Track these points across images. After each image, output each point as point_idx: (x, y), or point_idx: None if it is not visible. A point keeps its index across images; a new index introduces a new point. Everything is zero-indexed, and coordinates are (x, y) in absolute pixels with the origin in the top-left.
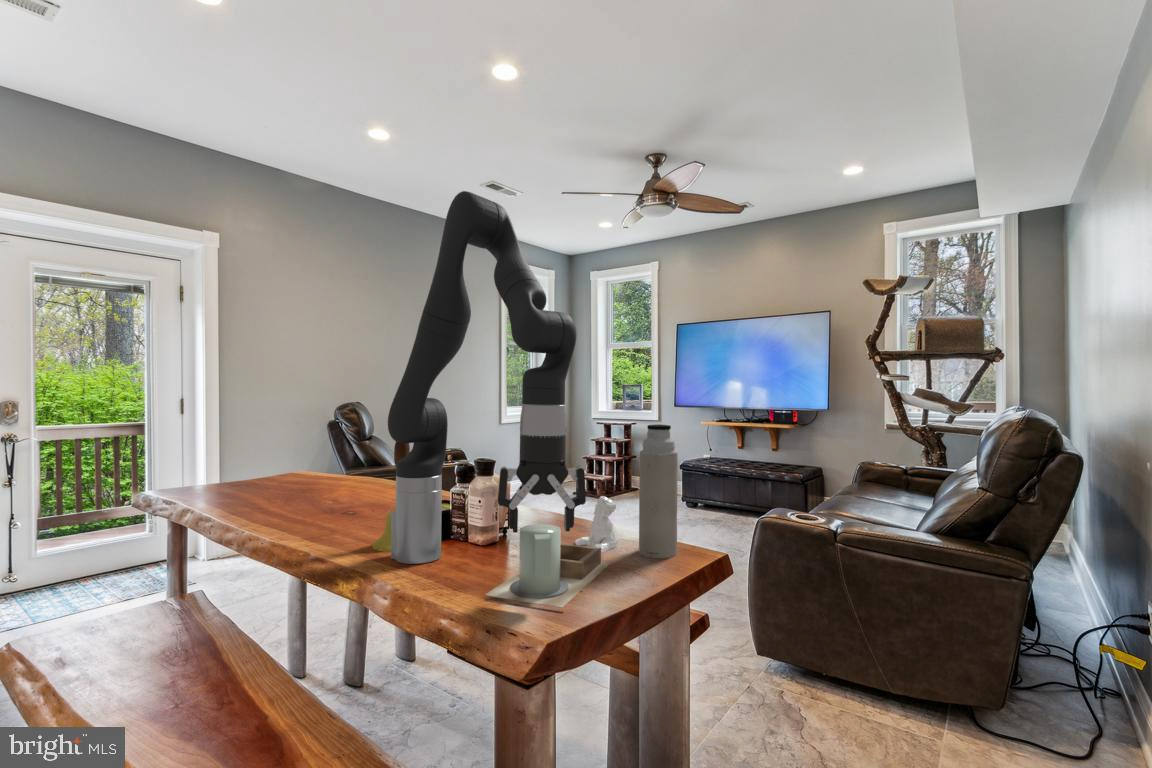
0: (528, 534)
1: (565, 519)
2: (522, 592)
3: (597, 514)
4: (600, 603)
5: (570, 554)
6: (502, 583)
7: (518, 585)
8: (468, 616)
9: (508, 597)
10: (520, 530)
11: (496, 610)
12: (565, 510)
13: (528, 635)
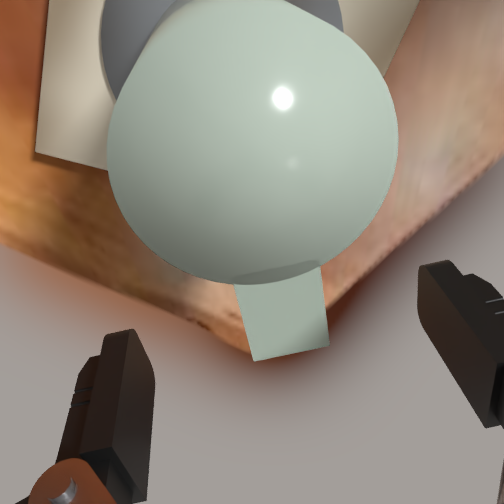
0: (197, 272)
1: (448, 347)
2: None
3: None
4: (435, 124)
5: None
6: (50, 10)
7: (136, 56)
8: (49, 257)
9: None
10: (127, 217)
11: (113, 211)
12: (480, 388)
13: (236, 327)
